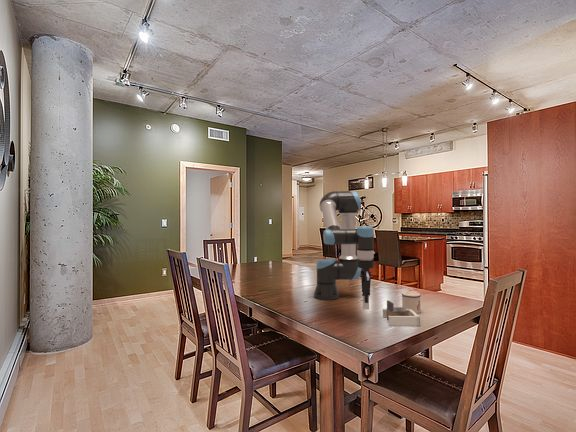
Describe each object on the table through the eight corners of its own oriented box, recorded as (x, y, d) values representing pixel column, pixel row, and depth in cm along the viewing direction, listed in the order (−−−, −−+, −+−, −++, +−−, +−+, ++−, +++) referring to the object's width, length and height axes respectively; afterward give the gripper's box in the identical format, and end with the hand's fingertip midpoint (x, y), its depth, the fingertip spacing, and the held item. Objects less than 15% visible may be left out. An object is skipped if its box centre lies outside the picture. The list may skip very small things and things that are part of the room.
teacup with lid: (421, 314, 154) (421, 291, 154) (402, 313, 157) (401, 290, 157) (419, 308, 165) (419, 286, 165) (401, 306, 168) (401, 285, 168)
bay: (389, 325, 139) (389, 316, 139) (382, 316, 151) (382, 308, 151) (420, 326, 138) (420, 317, 138) (411, 317, 150) (410, 308, 150)
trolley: (392, 323, 142) (391, 303, 142) (386, 319, 148) (386, 300, 148) (409, 323, 142) (408, 303, 142) (402, 318, 148) (402, 299, 148)
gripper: (376, 261, 139) (377, 313, 140) (370, 256, 152) (371, 304, 153) (359, 261, 140) (360, 313, 140) (355, 257, 153) (355, 304, 153)
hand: (365, 308), depth 146 cm, fingers closed
